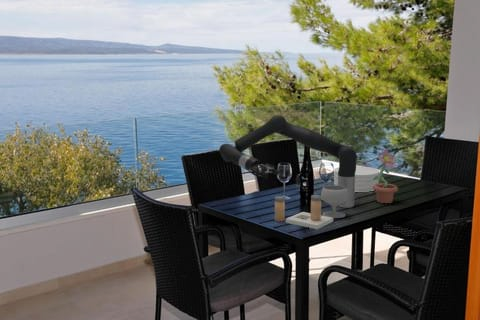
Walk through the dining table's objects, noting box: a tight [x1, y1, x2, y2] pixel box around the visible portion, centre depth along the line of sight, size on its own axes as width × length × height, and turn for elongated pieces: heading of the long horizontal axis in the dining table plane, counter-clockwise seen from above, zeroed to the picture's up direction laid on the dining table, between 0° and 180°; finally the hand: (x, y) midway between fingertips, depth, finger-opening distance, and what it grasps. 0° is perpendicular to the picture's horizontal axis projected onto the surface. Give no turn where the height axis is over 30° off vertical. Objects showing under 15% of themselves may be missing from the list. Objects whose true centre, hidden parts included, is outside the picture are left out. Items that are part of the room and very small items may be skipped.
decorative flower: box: [373, 149, 399, 205], centre depth 302 cm, size 15×14×30 cm
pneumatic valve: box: [295, 173, 316, 186], centre depth 329 cm, size 6×12×12 cm, turn 123°
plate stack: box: [333, 165, 380, 193], centre depth 340 cm, size 28×28×12 cm
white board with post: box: [285, 194, 334, 230], centre depth 266 cm, size 16×18×14 cm
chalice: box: [320, 184, 348, 219], centre depth 277 cm, size 14×14×15 cm
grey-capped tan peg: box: [274, 195, 286, 222], centre depth 270 cm, size 5×5×12 cm
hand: (272, 174), depth 268 cm, fingers open, 8 cm apart
